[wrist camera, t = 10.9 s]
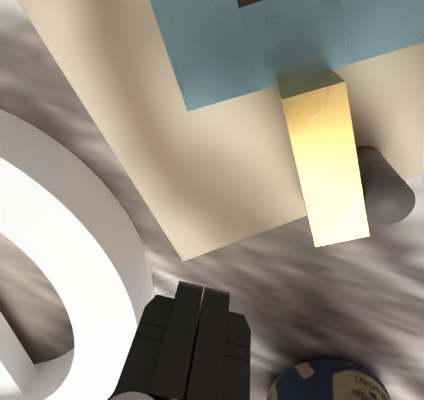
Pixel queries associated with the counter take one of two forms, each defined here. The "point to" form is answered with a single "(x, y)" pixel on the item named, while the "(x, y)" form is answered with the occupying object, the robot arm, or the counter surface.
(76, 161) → the white circle with bar
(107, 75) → the base board
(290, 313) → the counter surface
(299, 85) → the t-shaped piece
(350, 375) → the canister
